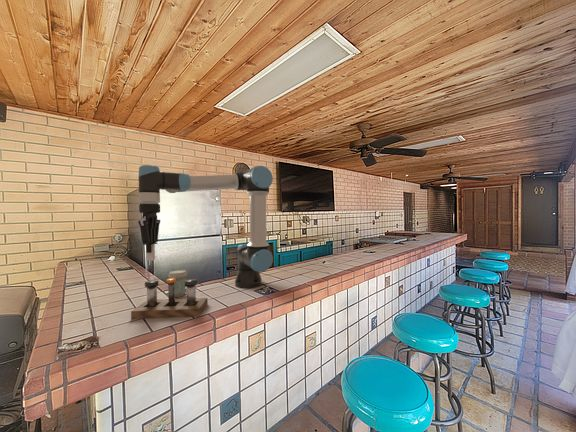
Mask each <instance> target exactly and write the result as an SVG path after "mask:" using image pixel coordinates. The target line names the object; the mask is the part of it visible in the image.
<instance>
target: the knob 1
mask: <svg viewBox="0 0 576 432" xmlns="http://www.w3.org/2000/svg"><path fill="white" fill-rule="evenodd" d="M159 285H160V283H159V280H157V279H152V280H147V281H145V282H144V288H146V301H147V306H155V305H157V300H158V291H157V290H158V288H157V286H159Z"/></svg>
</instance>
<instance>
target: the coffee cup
mask: <svg viewBox="0 0 576 432" xmlns="http://www.w3.org/2000/svg"><path fill="white" fill-rule="evenodd" d="M187 276H188V272H187V271H186V270H185V269H177V270H171V271H169V273H168V279H171V278H175V279H176V283H175V297H178V298H181V297H184V296H185V294H186V293H185V292H186V286H185V285H184V281H186V280H187Z"/></svg>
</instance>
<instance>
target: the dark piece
mask: <svg viewBox="0 0 576 432" xmlns="http://www.w3.org/2000/svg"><path fill="white" fill-rule="evenodd" d="M175 283H176V279H175V278H171V279H169V278H167V279H166V285H167V286H168V288H167V289H168V290H167V291H168V299H169V305H174V304H175V299H176V298H175Z"/></svg>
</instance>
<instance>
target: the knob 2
mask: <svg viewBox="0 0 576 432" xmlns="http://www.w3.org/2000/svg"><path fill="white" fill-rule="evenodd" d="M184 285H185V292H186V293H185V294H186V299H187V305H193V304H195V303H196V298H197V293H196V292H197V290H196V286H197V285H198V279H196V278H189V279H186V281H184Z"/></svg>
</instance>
